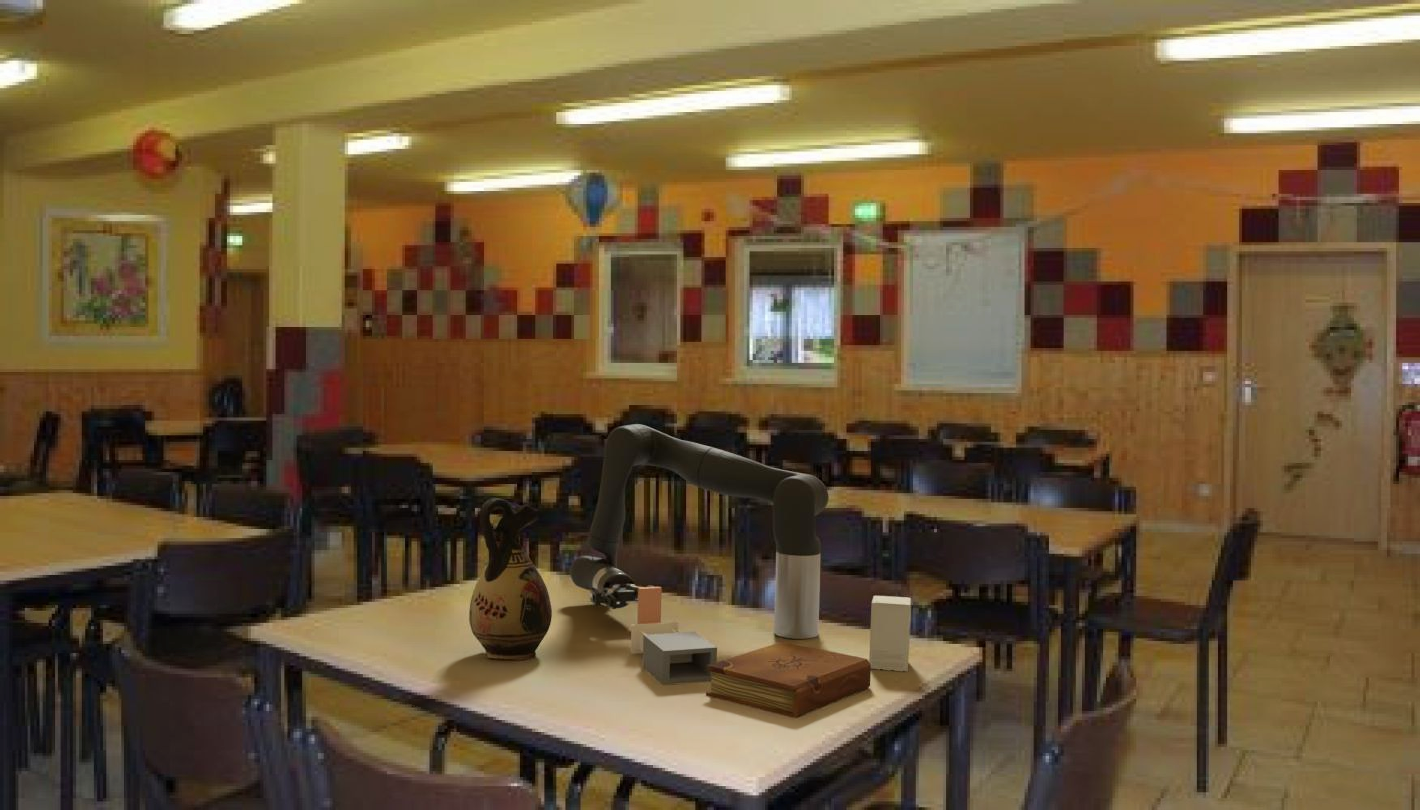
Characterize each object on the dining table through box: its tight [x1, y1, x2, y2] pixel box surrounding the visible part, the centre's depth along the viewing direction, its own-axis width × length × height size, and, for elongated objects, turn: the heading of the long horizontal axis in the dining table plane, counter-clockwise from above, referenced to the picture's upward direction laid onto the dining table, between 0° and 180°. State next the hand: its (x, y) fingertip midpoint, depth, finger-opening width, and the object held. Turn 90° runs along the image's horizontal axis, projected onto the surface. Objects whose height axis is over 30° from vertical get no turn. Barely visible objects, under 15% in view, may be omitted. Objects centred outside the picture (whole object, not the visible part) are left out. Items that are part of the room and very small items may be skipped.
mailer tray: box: [630, 586, 692, 663], centre depth 220 cm, size 9×17×12 cm, turn 20°
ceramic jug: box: [468, 497, 553, 661], centre depth 220 cm, size 17×15×30 cm
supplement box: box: [868, 595, 912, 672], centre depth 220 cm, size 7×7×13 cm
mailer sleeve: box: [642, 631, 718, 686], centre depth 211 cm, size 10×12×6 cm
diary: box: [705, 640, 872, 719], centre depth 201 cm, size 23×19×6 cm
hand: (635, 603), depth 236 cm, fingers open, 8 cm apart
